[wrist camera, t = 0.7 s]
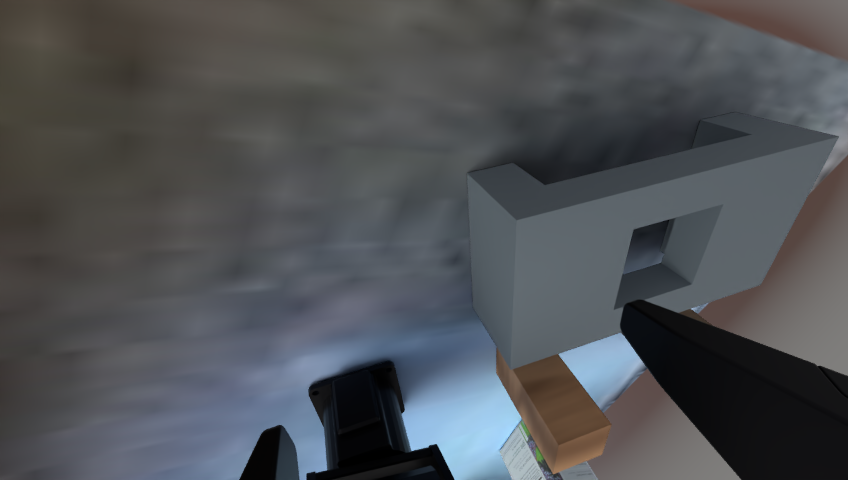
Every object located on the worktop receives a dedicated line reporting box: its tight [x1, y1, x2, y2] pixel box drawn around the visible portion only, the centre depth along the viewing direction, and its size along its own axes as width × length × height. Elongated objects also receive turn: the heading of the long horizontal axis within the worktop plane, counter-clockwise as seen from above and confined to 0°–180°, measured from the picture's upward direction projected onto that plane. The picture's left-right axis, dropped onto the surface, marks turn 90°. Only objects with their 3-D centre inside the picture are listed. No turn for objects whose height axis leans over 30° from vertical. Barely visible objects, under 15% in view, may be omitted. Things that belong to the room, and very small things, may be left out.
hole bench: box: [467, 112, 839, 370], centre depth 24 cm, size 11×20×6 cm, turn 96°
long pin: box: [496, 348, 611, 474], centre depth 29 cm, size 4×4×9 cm
